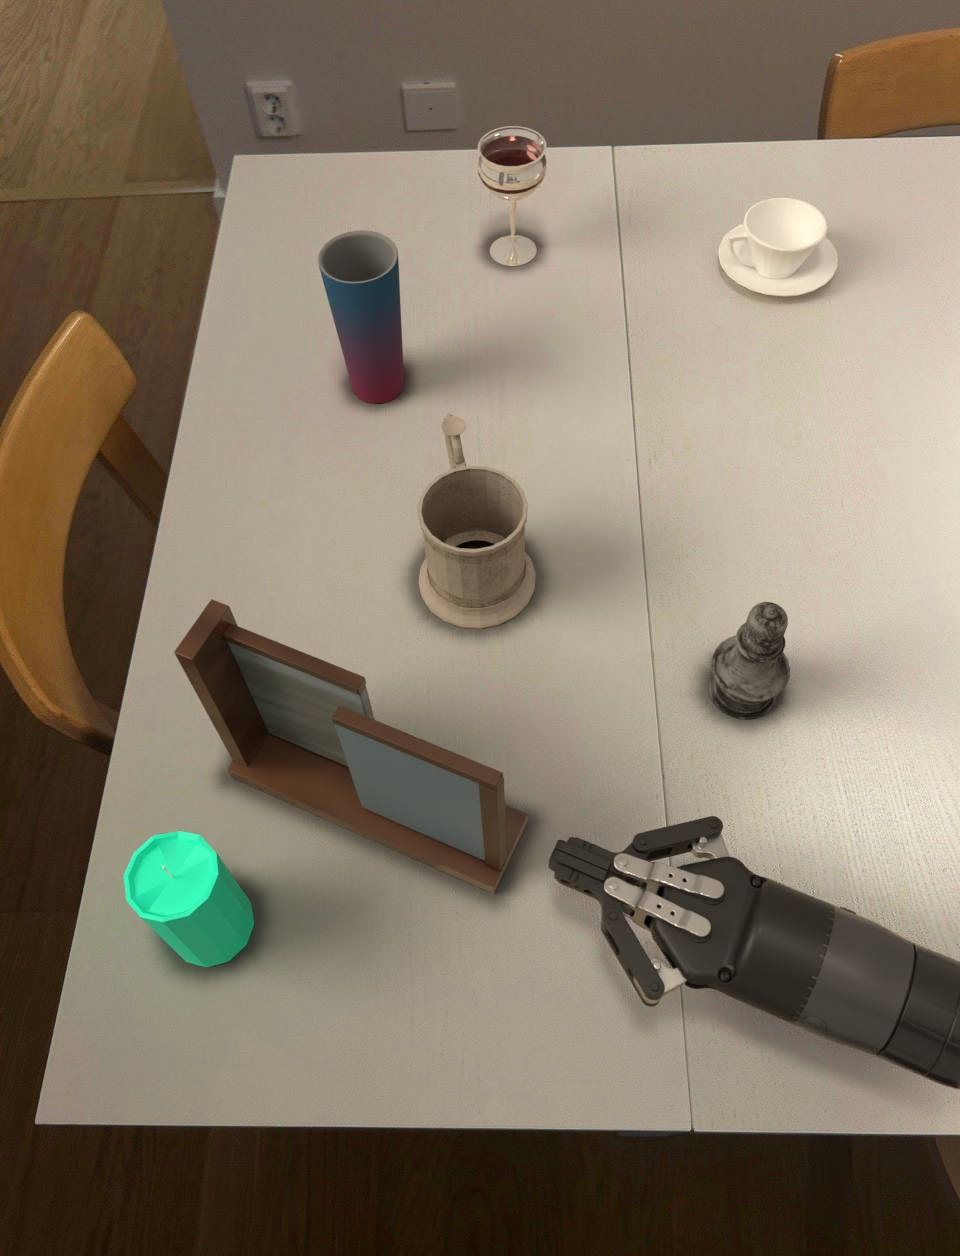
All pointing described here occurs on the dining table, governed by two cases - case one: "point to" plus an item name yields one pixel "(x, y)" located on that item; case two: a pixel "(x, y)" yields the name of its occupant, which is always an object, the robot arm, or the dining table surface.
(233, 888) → the candle
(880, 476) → the dining table surface
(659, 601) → the dining table surface
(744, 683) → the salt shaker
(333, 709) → the screen frame
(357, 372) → the cup
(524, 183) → the wineglass
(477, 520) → the mug
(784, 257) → the teacup
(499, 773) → the glass door
